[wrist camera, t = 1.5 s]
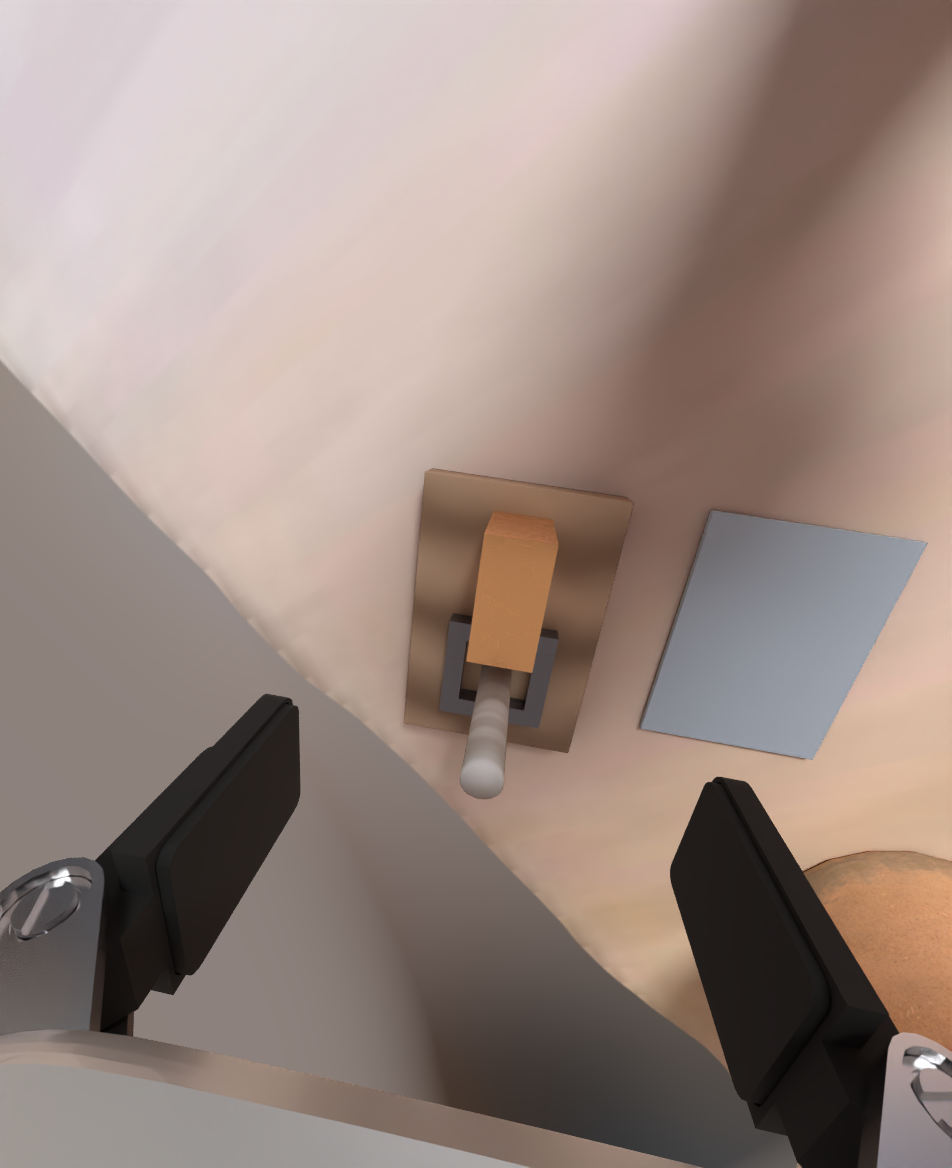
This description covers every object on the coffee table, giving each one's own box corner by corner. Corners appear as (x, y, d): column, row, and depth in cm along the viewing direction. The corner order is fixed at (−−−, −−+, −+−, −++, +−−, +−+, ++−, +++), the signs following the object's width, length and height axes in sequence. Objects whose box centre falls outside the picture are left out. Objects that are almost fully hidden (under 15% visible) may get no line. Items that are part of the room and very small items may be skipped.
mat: (711, 509, 26) (713, 511, 26) (922, 541, 25) (927, 543, 25) (639, 725, 32) (641, 728, 32) (809, 755, 31) (812, 759, 31)
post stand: (432, 468, 27) (363, 503, 16) (626, 497, 26) (696, 555, 15) (410, 705, 34) (351, 847, 23) (565, 734, 33) (583, 895, 22)
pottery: (693, 863, 36) (789, 1124, 23) (1013, 789, 30) (1392, 1081, 17) (769, 1016, 42) (881, 1297, 28) (1050, 979, 36) (1356, 1309, 23)
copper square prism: (465, 506, 26) (449, 528, 21) (581, 523, 25) (594, 550, 20) (442, 699, 31) (424, 755, 26) (538, 717, 30) (539, 777, 25)
